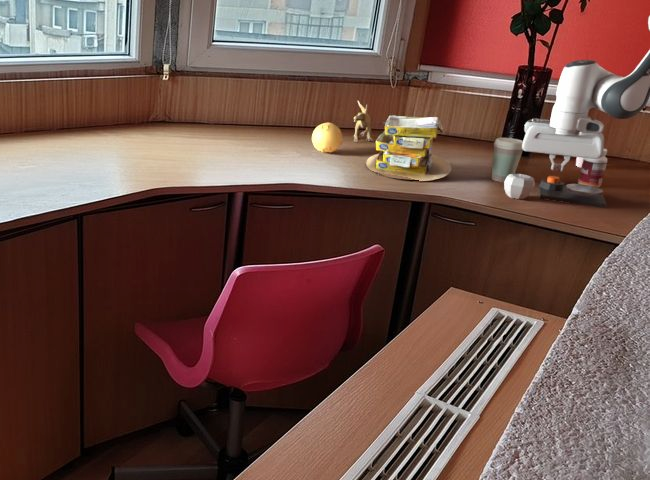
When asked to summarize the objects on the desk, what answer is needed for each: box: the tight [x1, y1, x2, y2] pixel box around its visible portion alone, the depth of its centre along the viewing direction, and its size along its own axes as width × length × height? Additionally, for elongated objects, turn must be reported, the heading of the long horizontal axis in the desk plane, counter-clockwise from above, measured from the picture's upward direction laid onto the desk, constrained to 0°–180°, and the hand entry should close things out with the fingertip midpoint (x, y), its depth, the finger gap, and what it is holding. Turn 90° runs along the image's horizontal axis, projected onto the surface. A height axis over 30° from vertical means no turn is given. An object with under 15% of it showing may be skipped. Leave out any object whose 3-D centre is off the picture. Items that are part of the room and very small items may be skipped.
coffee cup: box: [491, 137, 524, 183], centre depth 213 cm, size 9×8×12 cm
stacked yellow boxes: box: [365, 114, 452, 182], centre depth 217 cm, size 25×25×17 cm
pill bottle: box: [577, 148, 608, 188], centre depth 211 cm, size 6×6×11 cm
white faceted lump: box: [503, 173, 536, 200], centre depth 196 cm, size 8×8×7 cm
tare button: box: [546, 175, 560, 184], centre depth 203 cm, size 3×3×2 cm
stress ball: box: [311, 122, 343, 153], centre depth 238 cm, size 10×10×10 cm
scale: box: [538, 178, 607, 209], centre depth 200 cm, size 16×14×3 cm
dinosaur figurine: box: [350, 100, 374, 143], centre depth 259 cm, size 8×26×13 cm, turn 165°
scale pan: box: [565, 183, 604, 195], centre depth 196 cm, size 9×9×1 cm
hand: (556, 170), depth 202 cm, fingers closed
